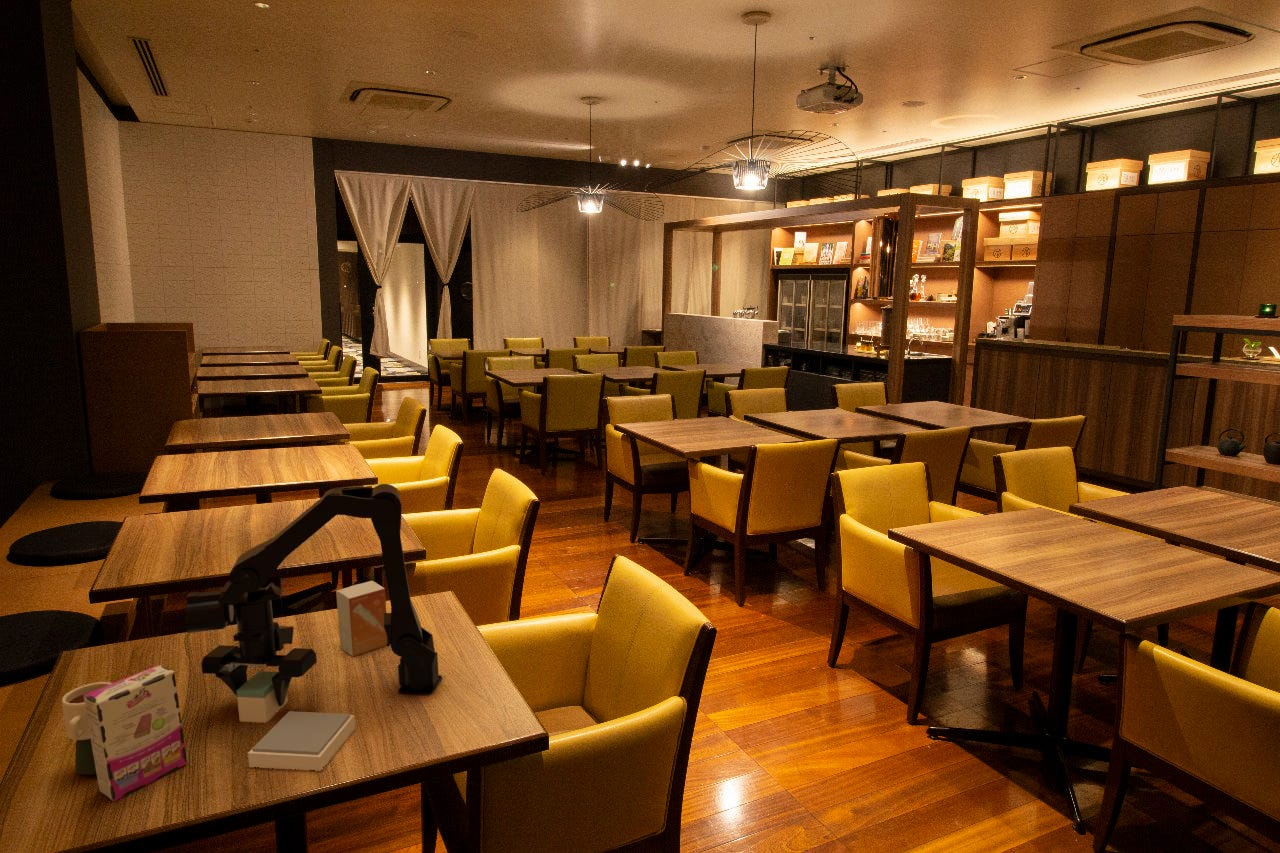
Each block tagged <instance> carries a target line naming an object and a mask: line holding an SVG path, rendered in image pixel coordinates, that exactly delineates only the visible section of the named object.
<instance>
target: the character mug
mask: <svg viewBox="0 0 1280 853" xmlns="http://www.w3.org/2000/svg"><path fill="white" fill-rule="evenodd" d="M112 683H113V682H109V681H100V682H99V681H97V682H92V683H88V684H85V685H80V686H79V687H76V688H74V689H72V690H70V691H68V692H67V693H65V694H64V695H63V696H62V698H61V706H62V713H63V718H64V723H65V724H64V725H65V726H64V727H65V731H66V736H67V737H68V739H71V740H72V741H75V754H74V755H75V757H74V759H75V760H74V762H75V768H74V769H75V773H77V774H79V775H88V776H89V775H97V773H96V767H95V762H94V755H93V750H92V744H91V737H90V732H89V725H88V720H87V713H86V708H85V702H84V696H83V695H85V694H88V693H90V692H92V691H95V690H97V689H100V688H102V687H105V686H107V685H110V684H112Z"/></svg>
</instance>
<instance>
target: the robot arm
mask: <svg viewBox="0 0 1280 853" xmlns="http://www.w3.org/2000/svg"><path fill="white" fill-rule="evenodd" d="M336 516H347V517H354V518H357V519H370V520H371V521H370V522H371V524H372V526H373V528H374V530H375V533H376V535H377V537H378V540H379V542H380V548H381V555H382V560H383V566H384V572H385V577H386V584H387V590H388V596H389V602H390V612H386V613H384V628H385V631H386V635H387V646H386V647H390V648H391V651H392V653H393V654H394V655H396V656H398V657H400V658H399V663H398V665H397V671H398V673H397V674H398V684H399V686H400V687H399V688H398V690H397V691H398V693H399V694H411V695H412V694H413V695H431V694H433V692H434V690H436V689H437V688H436V687H437V686H438V685H439V683H440V682H441V680H442V679H443V676H442V675H440V674H439V661H438V659H439V657H438V652H436V649H435V642H434V636H433V634H432V633H431V632H430V631H428V630H426V629H425V628H424V627H422V625H421V622H420V619H419V616H418V613H417V611H416V609H415V605H414V604H413V602H412V600H411V594H410V588H409V587H410V586H409V582H408V580H409V579H408V574H407V570H406V569H407V568H406V563H405V557H404V550H403V544H402V538H401V530H402V498H401V492H400V490H399V489H398V488H397V487H395V486H394V485H392V484H388V483H381V484H377V485H376V486H374V487H372V486H371V487H368V486H367V487H363V486H362V487H352V488H331V489H328V490H326V492H325V493H324V494H323V496H322V497H320V498H319V499H317V501H315V502H314V503H313V504H312V505H311V506H310V507H308V508H307V509H306V510H305V511H303V512H302V513H301V514H300V515H299V516H298V517H296V518H295V519H294V520H292V522H290V523H289V524H288V525H286V526H285V527H284V528H283V529H282V530H280V532H278V533H277V534H276V535H274V536H273V537H271V538H269V539H268V540H266V541H264V542H262V543H259V544H257V545H255V546H254V547H252V548H250V549H248V550H247V551H245V552H243V553H242V554H240V555H239V556H238V557H237V558H236V560H235V563H234V565H232V569H231V570H230V572H229V577H228V578H229V580H228V581H226V583H225V584H224V586H223V589H221V590H212V591H204V592H200V591H195V592H194V591H193V592H189V593H188V595H187V596H186V603H187V604H186V610H185V618H184V625H185V629H186V632H187V633H188V634H195V633H200V632H208V631H209V632H210V631H218V630H225V629H226V628H227V627H228V623H232V622H233V621H234V615H235V617H236V618H235V619H236V627H237V632H236V633H235V634H234V635H233V641H234V642H238V644H239V646H238V645H222V644H221V645H217V646H216V647H215V648H214V649H212V650H211V651H210V652H208V653H207V654H206V655H204V656H203V657H202V659H201V662H200V670H201V673H202V674H207V675H208V674H209V675H210V674H211V675H215V678H216V679H220V680H221V681H222V682H223V683H224V684H225V685H226V686H227V687H228V688H229V689H230V690H231V691H232V693H233V694H234V695H235V696H236V697H237V690H238V689H239V688H240V687H241V686H242V685H244V684H245V683H246V682H247V681H248V673H247V671H248V667H249V666H251V667H253V666H254V667H255V666H256V667H257V666H258V667H259V666H260V667H277V669H278V670H277V672H278V673H277V674H276V675H274V676H273V677H272V683H273V687H274V692H275V696H276V700H277V703H278V706H282V705H283V704H284V701H285V698H286V694H287V695H288V690H289V687H290V684H291V681H292V678H300V677H303V676H304V675H305V674H306V673H307V672H308V671H309V670H310V669H311V668H312V667H313V666H314V665H315V664H317V662H318V660H317V653H316V652H315V650H314V649H312V648H304V647H303V648H302V647H300V648H299V647H296V648H295V647H294V648H292V649H291V650H290V651H289V652H288V653H287V654H285V655H283V654H277V652H280V651H282V650H283V649H284V648H285V646H284V645H288V644H289V645H292V644H293V638H294V630H295V627H294V626H292V625H291V626H289V625H279V622H275V621H274V617H273V615H274V614H273V607H272V606H273V604H272V601H274V600H275V601H278V600H281V597H282V594H283V588H280V587H279V586H277V585H275V584H274V582H270V583H269V584H268V585H267V586H266V587H263V586H264V585H265V584H266V583H267V582H268V580H269V579H270V578H271V577H272V576H273V574H274V573H275V572H276V570H277V569H278V568H279V567H280V565H281V564H282V563H283V562H284V560H285V559H286V558H287V557H288V556H289V555H291V554H292V553H293V552H294V551H295V550H297V549H298V548H299V547H300V546H301V545H302V544H303V543H305V542H306V541H307V540H308V539H310V538H311V537H312V536H314V534H316V533H317V532H318V531H319V530H320V529H321V528H323V527H324V526H326V525H327V523H329V522H330V521H331V520H332V519H333V518H335V517H336ZM234 607H235V608H234ZM234 609H235V610H234ZM234 611H235V614H234Z"/></svg>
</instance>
